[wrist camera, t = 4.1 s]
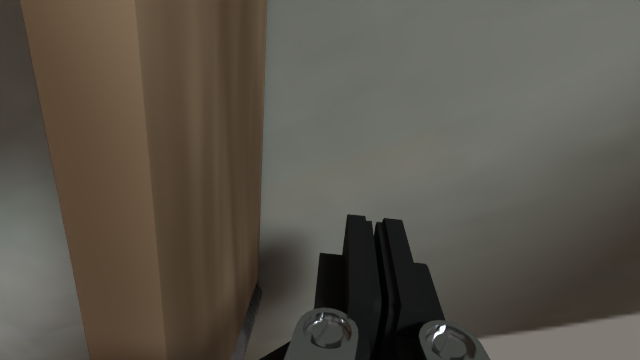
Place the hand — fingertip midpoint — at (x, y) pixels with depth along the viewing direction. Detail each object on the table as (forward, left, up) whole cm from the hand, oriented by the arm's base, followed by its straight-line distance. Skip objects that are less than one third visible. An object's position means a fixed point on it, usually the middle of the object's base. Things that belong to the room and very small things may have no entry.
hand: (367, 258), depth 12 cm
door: (+5, -2, -4) cm, 7 cm away
